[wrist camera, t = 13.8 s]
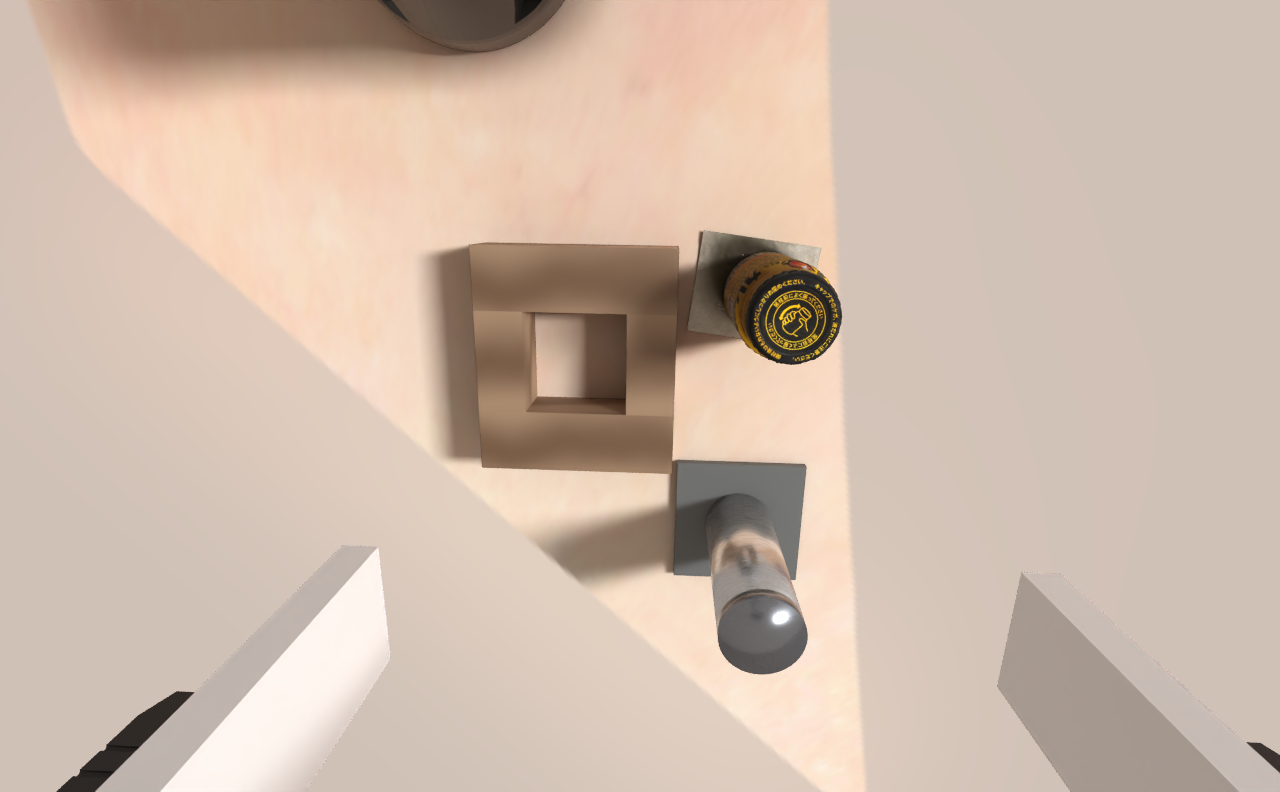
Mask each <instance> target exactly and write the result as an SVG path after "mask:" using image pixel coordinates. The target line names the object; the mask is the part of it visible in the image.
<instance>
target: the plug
mask: <svg viewBox="0 0 1280 792" xmlns="http://www.w3.org/2000/svg"><path fill="white" fill-rule="evenodd" d="M705 525H706V534H707V544H708V553H709V562H710V571H711V580H712V589H713V598H714V607H715V616H716V625H717V634H718V642H719V647H720V650H721V652H722V654H723V655H724V657H725V658H726V659H727V660H728V661H729V662H730V663H731V664H732V665H733V666H735V667H737V668H738V669H740V670H742V671H745V672H748V673H753V674H771V673H776V672H779V671H782V670H784V669H786V668H788V667H789V666H791V665H792V664H794V663H795V662H796V661H797V660H798V659H799V658H800V656H801V655H802V654H803V652H804V650H805V647H806V644H807V636H808V634H807V628H806V625H805V622H804V619H803V615H802V612H801V609H800V606H799V603H798V600H797V597H796V594H795V591H794V588H793V585H792V582H791V579H790V576H789V573H788V570H787V567H786V564H785V560H784V557H783V554H782V551H781V548H780V545H779V542H778V539H777V536H776V533H775V530H774V527H773V524H772V521H771V518H770V515H769V512H768V510H767V508H766V506H765V505H764V504H763V503H762V502H761V501H760V500H758V499H757V498H755V497H753V496H751V495H747V494H741V493H735V494H730V495H726V496H724V497H722V498H720V499H719V500H717V501H716V502H715V503H714V504H713V505H712V506H711V507H710V509H709V511H708V513H707V516H706V521H705Z"/></svg>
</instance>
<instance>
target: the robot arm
mask: <svg viewBox="0 0 1280 792" xmlns="http://www.w3.org/2000/svg"><path fill="white" fill-rule="evenodd" d="M378 1H379V2H380V3H381V4H382V5H383V6H384V7H385V8H386V9H387V10H388V11H389V12H390V13H391V14H392V15H394V16H395V17H396V18H397V19H399V20H400V21H401V22H403V23H404V24H405V25H407V26H408V27H409V28H411V29H412V30H413V31H415V32H416V33H418V34H419V35H421V36H423V37H424V38H426V39H428V40H430V41H432V42H434V43H437V44H439V45H442V46H445V47H448V48H452V49H457V50H463V51H475V52H476V51H490V50H496V49H500V48H504V47H507V46H510V45H512V44H515V43H517V42H519V41H521V40H523V39H525V38H527V37H528V36H530V35H531V34H533V33H534V32H536V31H537V30H538V29H540V28H541V27H542V26H543V25H544V24H545V23H546V22H547V21H548V20H549V19H550V18H551V17H552V16H553V15H554V14H555V13H556V11H557V10H558V9H559V7H560V6H561V5H562V3H563V2H564V0H378ZM390 658H391V657H390V648H389V640H388V630H387V621H386V613H385V604H384V595H383V586H382V578H381V568H380V560H379V551H378V547H367V546H341V547H340V548H339V549H338V550H337V551H336V552H335V553H334V554H333V555H332V556H331V557H330V558H329V559H328V560H327V561H326V562H325V563H324V564H323V565H322V566H321V567H320V568H319V569H318V570H317V571H316V572H315V573H314V574H313V575H312V576H311V577H310V578H309V579H308V580H307V581H306V582H305V583H304V584H303V585H302V586H301V587H300V588H299V589H298V590H297V591H296V592H295V593H294V594H293V595H292V596H291V597H290V598H289V599H288V600H287V601H286V602H285V603H284V604H283V605H282V606H281V607H280V608H279V609H278V610H277V611H276V612H275V613H274V614H273V615H272V616H271V617H270V618H269V619H268V620H267V621H266V622H265V623H264V624H263V625H262V626H261V627H260V628H259V629H258V630H257V631H256V632H255V633H254V634H253V635H252V636H251V637H250V638H249V639H248V640H247V641H246V642H245V643H244V644H243V645H242V646H241V647H240V648H239V649H238V650H237V651H236V652H235V653H234V654H233V655H232V656H231V657H230V658H229V659H228V660H227V661H226V662H225V663H224V664H223V665H222V666H221V667H220V668H219V669H218V670H217V671H216V672H215V673H214V674H213V675H212V676H211V677H210V678H209V679H208V680H207V681H206V682H205V683H204V684H203V685H202V686H201V687H200V688H199V689H198V690H197V691H196V692H179V691H178V692H175V693H174V694H172V695H170V696H169V697H167V698H166V699H164V700H162V701H161V702H159V703H157V704H156V705H154V706H153V707H151V708H150V709H148V710H146V711H145V712H143V713H141V714H140V715H138V716H137V717H136V718H135V719H134V720H133V721H132V722H131V723H130V724H128V725H127V726H126V727H125V728H124V729H123V730H122V731H121V732H120V733H119V734H118V735H117V736H116V737H115V738H113V739H112V740H111V741H110V742H109V743H108V744H107V747H106V749H105V750H104V751H100V752H98V753H97V754H96V755H95V756H94V757H93V758H92V759H91V760H90V761H89V762H88V763H87V764H86V765H85V766H84V767H82V769H80V773H79V775H78V776H76V777H75V776H73V777H72V778H71V779H70V780H68V782H66V783H65V784H64V785H63V786H62V787H61V788H60V789H59V790H58V791H57V792H306V790H307V789H308V787H309V786H310V784H311V783H312V781H313V780H314V778H315V776H316V775H317V773H318V772H319V770H320V768H321V767H322V765H323V764H324V762H325V761H326V759H327V758H328V756H329V754H330V753H331V751H332V750H333V748H334V746H335V745H336V743H337V742H338V740H339V739H340V737H341V735H342V734H343V732H344V731H345V729H346V728H347V726H348V724H349V723H350V721H351V720H352V718H353V717H354V715H355V714H356V712H357V710H358V709H359V707H360V706H361V704H362V702H363V701H364V699H365V698H366V696H367V695H368V693H369V691H370V690H371V688H372V686H373V685H374V684H375V682H376V680H377V679H378V677H379V676H380V674H381V673H382V671H383V669H384V668H385V666H386V665H387V663H388V661H389V660H390ZM997 687H998V688H999V690H1000V691H1001V693H1002V694H1003V696H1004V697H1005V699H1006V700H1007V701H1008V703H1009V704H1010V706H1011V707H1012V709H1013V710H1014V711H1015V713H1016V714H1017V716H1018V717H1019V719H1020V720H1021V721H1022V723H1023V724H1024V726H1025V727H1026V729H1027V730H1028V731H1029V733H1030V734H1031V736H1032V737H1033V739H1034V740H1035V741H1036V743H1037V744H1038V746H1039V747H1040V749H1041V750H1042V751H1043V753H1044V754H1045V756H1046V757H1047V759H1048V760H1049V761H1050V763H1051V764H1052V766H1053V767H1054V769H1055V770H1056V772H1057V773H1058V774H1059V776H1060V777H1061V779H1062V780H1063V782H1064V783H1065V784H1066V786H1067V787H1068V789H1069V790H1070V792H1280V755H1278V754H1277V753H1276V752H1274V751H1272V750H1271V749H1269V748H1267V747H1266V746H1264V745H1263V744H1261V743H1249V742H1245V741H1244V740H1243V739H1242V738H1241V737H1240V736H1238V735H1237V734H1236V733H1235V732H1234V731H1233V730H1232V729H1231V728H1230V727H1228V726H1227V725H1226V724H1225V723H1224V722H1223V721H1222V720H1221V719H1220V718H1219V717H1217V716H1216V715H1215V714H1214V713H1213V712H1212V711H1211V710H1210V709H1209V708H1207V706H1205V705H1204V704H1203V703H1202V702H1201V701H1200V700H1199V699H1198V698H1197V697H1196V696H1194V695H1193V694H1192V693H1191V692H1190V691H1189V690H1188V689H1187V688H1186V687H1185V686H1184V685H1182V684H1181V683H1180V682H1179V681H1178V680H1177V679H1176V678H1175V677H1174V676H1172V675H1171V674H1170V673H1169V672H1168V671H1167V670H1166V669H1165V668H1164V667H1163V666H1162V665H1160V664H1159V663H1158V662H1157V661H1156V660H1155V659H1154V658H1153V657H1152V656H1151V655H1149V654H1148V653H1147V652H1146V651H1145V650H1144V649H1143V648H1142V647H1141V646H1140V645H1138V644H1137V643H1136V642H1135V641H1134V640H1133V639H1132V638H1131V637H1130V636H1128V635H1127V634H1126V633H1125V632H1124V631H1123V630H1122V629H1121V628H1120V627H1119V626H1118V625H1116V624H1115V623H1114V622H1113V621H1112V620H1111V619H1110V618H1109V617H1108V616H1106V615H1105V614H1104V613H1103V612H1102V611H1101V610H1100V609H1099V608H1098V607H1097V606H1096V605H1094V604H1093V603H1092V602H1091V601H1090V600H1089V599H1088V598H1087V597H1086V596H1085V595H1083V594H1082V593H1081V592H1080V591H1079V590H1078V589H1077V588H1076V587H1075V586H1073V585H1072V584H1071V583H1070V582H1069V581H1068V580H1067V579H1066V578H1065V577H1064V576H1063V575H1061V574H1052V573H1028V572H1021V577H1020V581H1019V586H1018V591H1017V595H1016V600H1015V605H1014V610H1013V614H1012V619H1011V624H1010V629H1009V633H1008V638H1007V642H1006V648H1005V652H1004V656H1003V661H1002V666H1001V671H1000V675H999V680H998V685H997Z"/></svg>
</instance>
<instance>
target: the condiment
mask: <svg viewBox="0 0 1280 792" xmlns="http://www.w3.org/2000/svg"><path fill="white" fill-rule="evenodd" d="M820 252H821V248H819V247H812V246H806V245H799V244H792V243H786V242H779V241H772V240H765V239H759V238H752V237H745V236H739V235H732V234H725V233H718V232H711V231H705V230H704V232H703V237H702V243H701V249H700V255H699V261H698V267H697V273H696V279H695V285H694V290H693V297H692V303H691V309H690V316H689V321H688V328H687V330H688V331H694V332H701V333H708V334H714V335H722V336H727V337H735V338H742V339H743V341H744V342H745V344H746V345H747V347H749V348H751V349H752V350H753V351H754V352H755V353H757V354H760V355H761V356H763V357H765V358H768V360H772V361H775V362H776V363H781V364H783V363H784V364H790V365H792V364H793V365H794V364H801V363H803V362H807V361H810V360H815V359H816V358H818V357H819V356H821V355H822V354H823V353H824V352H825V351H826V350H827V349H828V348H829V347H830V346H831V344H832V343H833V342H834V340H835V338H836V337H837V335H838V333H839V329H840V325H841V320H842V311H841V306H840V305H841V304H840V301H839V299H838V295H837V293H836V292H835V290H834V288H833V287H832V286H831V284H830V283H829V281H828V280H827V279H826V277H825V276H824V275H823V274H822V273H821V272H820V271H818V270H817V265H818V261H819V257H820ZM742 254H744V256H742ZM717 303H719V304H720V307H718V306H717ZM721 308H724V311H722V309H721Z"/></svg>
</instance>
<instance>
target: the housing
mask: <svg viewBox="0 0 1280 792" xmlns="http://www.w3.org/2000/svg"><path fill="white" fill-rule="evenodd" d="M469 252H470V269H471V286H472V303H473V320H474V337H475V354H476V371H477V388H478V405H479V422H480V439H481V457H482V467H483V468H512V469H542V470H571V471H601V472H630V473H659V474H672V450H673V420H674V390H675V360H676V330H677V299H678V269H679V247H678V246H640V245H587V244H534V243H479V244H472V245H469ZM535 312H550V313H592V314H627V353H626V399H601V398H567V397H537V374H536V341H535Z"/></svg>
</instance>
